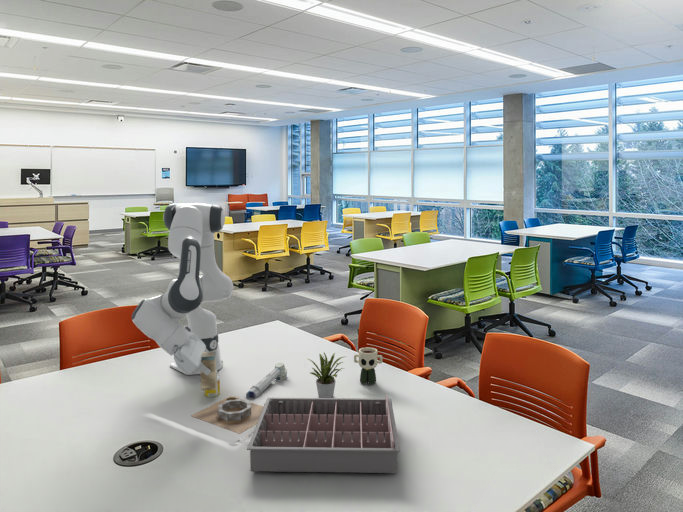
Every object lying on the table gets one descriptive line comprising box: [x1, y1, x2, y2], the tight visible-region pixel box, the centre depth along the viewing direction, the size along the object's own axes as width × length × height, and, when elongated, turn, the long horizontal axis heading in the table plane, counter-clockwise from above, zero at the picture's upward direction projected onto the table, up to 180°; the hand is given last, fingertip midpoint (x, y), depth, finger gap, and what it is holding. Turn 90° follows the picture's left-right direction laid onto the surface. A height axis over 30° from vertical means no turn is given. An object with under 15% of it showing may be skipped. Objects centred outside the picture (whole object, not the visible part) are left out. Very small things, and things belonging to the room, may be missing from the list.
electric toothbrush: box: [245, 362, 288, 399], centre depth 190 cm, size 5×7×25 cm
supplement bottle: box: [204, 370, 221, 398], centre depth 181 cm, size 5×5×10 cm
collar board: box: [190, 398, 264, 435], centre depth 166 cm, size 22×18×4 cm
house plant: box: [308, 352, 348, 398], centre depth 180 cm, size 14×14×16 cm
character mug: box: [353, 346, 383, 386], centre depth 193 cm, size 11×7×13 cm, turn 84°
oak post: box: [199, 351, 218, 391], centre depth 160 cm, size 4×4×11 cm
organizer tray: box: [246, 394, 401, 474], centre depth 147 cm, size 32×40×10 cm
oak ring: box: [223, 395, 240, 402], centre depth 175 cm, size 5×5×1 cm
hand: (210, 369), depth 160 cm, fingers closed on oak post, 4 cm apart
